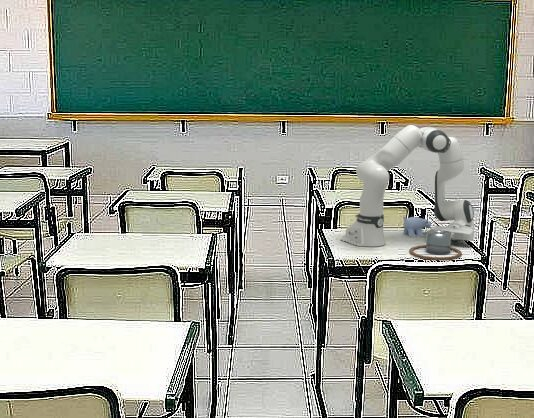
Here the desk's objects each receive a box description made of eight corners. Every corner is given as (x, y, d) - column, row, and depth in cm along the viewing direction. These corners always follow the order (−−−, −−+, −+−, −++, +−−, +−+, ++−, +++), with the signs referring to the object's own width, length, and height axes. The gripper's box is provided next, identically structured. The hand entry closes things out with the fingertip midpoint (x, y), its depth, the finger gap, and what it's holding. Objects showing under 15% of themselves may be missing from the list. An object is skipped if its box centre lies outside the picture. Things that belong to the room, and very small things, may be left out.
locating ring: (399, 252, 346) (399, 250, 346) (430, 244, 361) (430, 242, 361) (440, 263, 329) (440, 260, 329) (471, 254, 344) (471, 251, 343)
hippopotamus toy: (434, 235, 378) (435, 217, 376) (406, 237, 375) (406, 218, 373) (425, 230, 388) (426, 212, 386) (398, 232, 385) (398, 214, 383)
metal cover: (421, 251, 348) (421, 230, 346) (435, 247, 355) (435, 226, 353) (441, 256, 340) (441, 234, 338) (455, 251, 347) (456, 230, 345)
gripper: (435, 221, 370) (424, 226, 359) (477, 227, 359) (466, 232, 348) (435, 234, 371) (424, 239, 360) (476, 239, 360) (466, 246, 349)
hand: (445, 236), depth 354 cm, fingers closed
